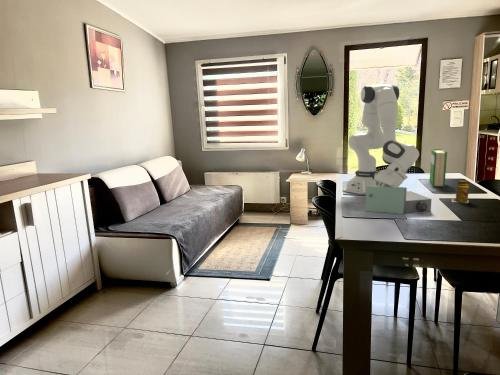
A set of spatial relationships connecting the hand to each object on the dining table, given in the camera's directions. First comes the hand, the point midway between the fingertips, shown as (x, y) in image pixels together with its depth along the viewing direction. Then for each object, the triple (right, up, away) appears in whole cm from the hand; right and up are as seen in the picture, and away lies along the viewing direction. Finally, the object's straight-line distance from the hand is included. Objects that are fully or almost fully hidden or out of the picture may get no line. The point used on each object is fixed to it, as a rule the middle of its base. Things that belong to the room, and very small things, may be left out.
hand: (377, 190), depth 199 cm
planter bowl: (+23, +1, +57) cm, 61 cm away
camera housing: (+18, -10, +5) cm, 21 cm away
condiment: (+53, -7, +15) cm, 55 cm away
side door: (+3, -12, -2) cm, 12 cm away
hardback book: (+62, +3, +60) cm, 87 cm away
